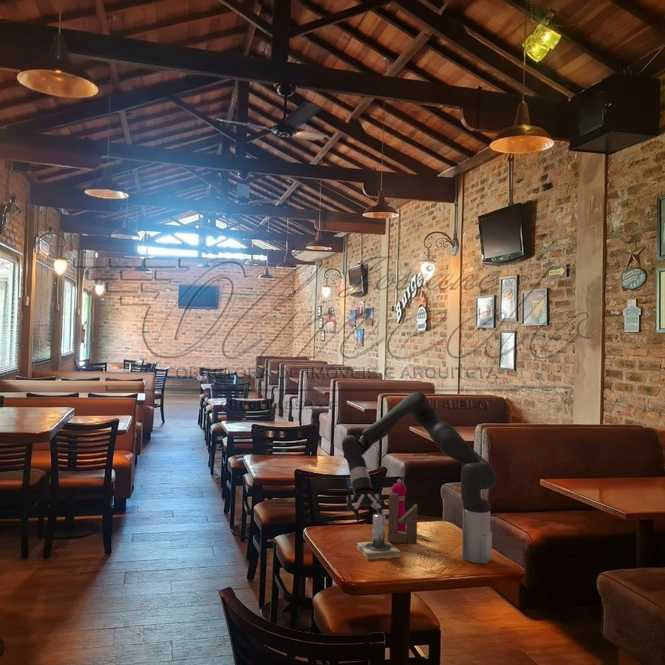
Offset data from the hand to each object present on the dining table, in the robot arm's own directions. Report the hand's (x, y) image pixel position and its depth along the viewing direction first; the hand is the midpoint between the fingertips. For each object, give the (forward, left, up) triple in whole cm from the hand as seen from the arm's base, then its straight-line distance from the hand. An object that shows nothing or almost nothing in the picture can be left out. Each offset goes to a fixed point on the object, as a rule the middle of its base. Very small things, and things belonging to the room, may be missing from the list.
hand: (369, 519), depth 219 cm
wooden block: (-8, -11, -9) cm, 16 cm away
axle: (-7, +5, -7) cm, 11 cm away
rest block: (-7, +5, -9) cm, 13 cm away
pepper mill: (+1, -25, -9) cm, 27 cm away
